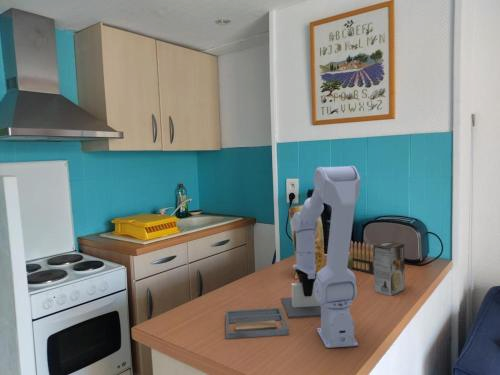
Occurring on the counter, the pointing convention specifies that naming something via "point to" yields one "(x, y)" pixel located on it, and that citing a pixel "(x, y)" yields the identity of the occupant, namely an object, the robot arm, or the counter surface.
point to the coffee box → (389, 268)
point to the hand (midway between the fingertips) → (306, 294)
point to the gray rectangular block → (302, 297)
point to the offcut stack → (255, 325)
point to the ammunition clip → (362, 258)
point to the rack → (256, 316)
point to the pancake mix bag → (318, 240)
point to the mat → (300, 310)
